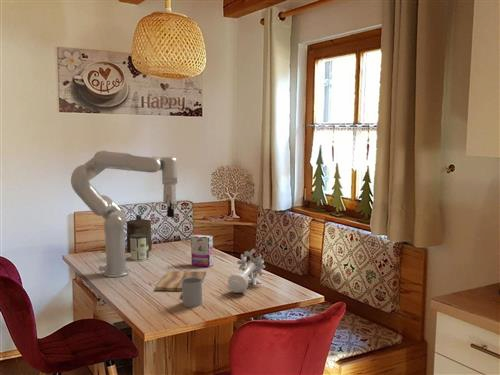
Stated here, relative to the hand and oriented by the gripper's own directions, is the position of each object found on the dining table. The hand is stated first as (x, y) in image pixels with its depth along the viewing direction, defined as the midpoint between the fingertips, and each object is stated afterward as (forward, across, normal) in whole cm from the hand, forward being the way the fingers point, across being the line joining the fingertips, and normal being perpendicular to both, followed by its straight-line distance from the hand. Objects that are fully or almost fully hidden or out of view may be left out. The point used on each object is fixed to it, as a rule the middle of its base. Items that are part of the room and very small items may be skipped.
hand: (170, 216), depth 267 cm
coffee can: (+29, -28, -24) cm, 47 cm away
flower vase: (+29, +26, +40) cm, 56 cm away
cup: (+29, +49, +18) cm, 60 cm away
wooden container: (+29, -50, -30) cm, 65 cm away
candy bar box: (+29, -14, +14) cm, 35 cm away
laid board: (+29, +18, +13) cm, 37 cm away
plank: (+29, +18, +3) cm, 34 cm away
